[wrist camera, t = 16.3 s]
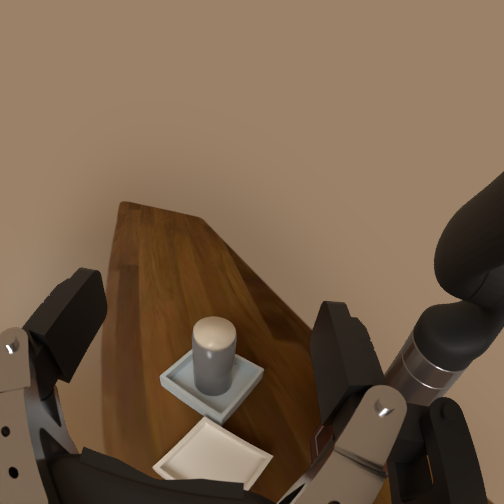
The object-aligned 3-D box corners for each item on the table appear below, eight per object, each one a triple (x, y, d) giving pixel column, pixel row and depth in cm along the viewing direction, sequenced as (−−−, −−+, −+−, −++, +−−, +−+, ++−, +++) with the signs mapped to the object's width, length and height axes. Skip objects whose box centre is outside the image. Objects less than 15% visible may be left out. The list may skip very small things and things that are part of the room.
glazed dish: (261, 378, 41) (264, 369, 40) (221, 426, 32) (221, 419, 31) (206, 346, 45) (206, 336, 44) (161, 385, 37) (159, 376, 36)
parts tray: (270, 460, 28) (273, 456, 27) (225, 518, 20) (226, 517, 19) (204, 422, 32) (204, 416, 32) (155, 471, 24) (152, 467, 23)
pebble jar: (238, 378, 39) (246, 328, 34) (216, 402, 35) (219, 354, 30) (209, 361, 42) (210, 309, 36) (186, 382, 37) (182, 332, 32)
